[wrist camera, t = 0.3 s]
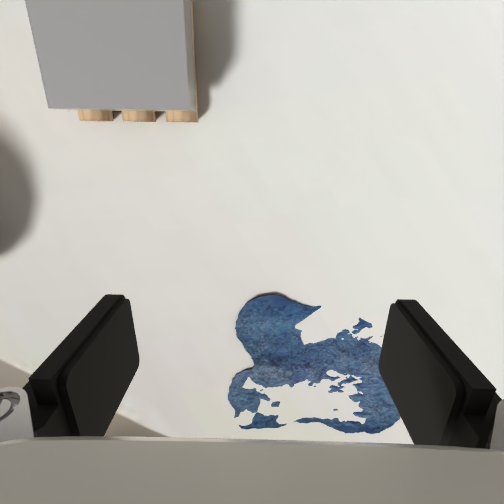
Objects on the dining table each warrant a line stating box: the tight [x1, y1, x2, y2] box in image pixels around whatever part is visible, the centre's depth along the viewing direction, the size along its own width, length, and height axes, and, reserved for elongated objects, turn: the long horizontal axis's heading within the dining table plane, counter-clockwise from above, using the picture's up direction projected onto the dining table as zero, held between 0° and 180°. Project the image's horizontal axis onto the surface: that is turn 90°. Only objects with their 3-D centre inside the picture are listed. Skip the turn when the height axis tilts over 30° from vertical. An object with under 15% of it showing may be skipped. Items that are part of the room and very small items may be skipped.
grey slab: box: [25, 0, 197, 112], centre depth 30 cm, size 10×14×4 cm
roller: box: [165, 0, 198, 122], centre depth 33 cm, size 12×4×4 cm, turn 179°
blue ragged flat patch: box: [228, 295, 400, 434], centre depth 51 cm, size 27×29×1 cm
